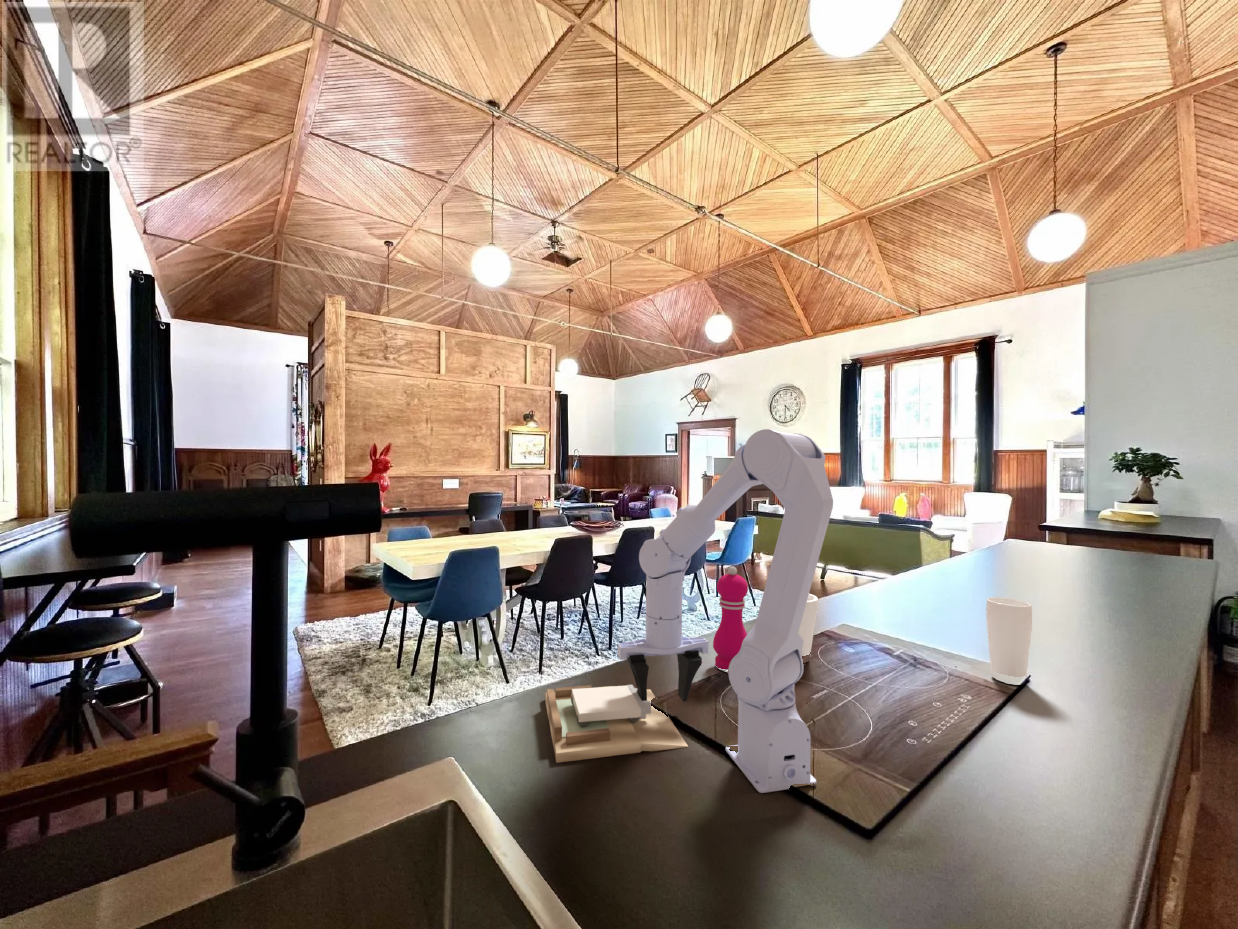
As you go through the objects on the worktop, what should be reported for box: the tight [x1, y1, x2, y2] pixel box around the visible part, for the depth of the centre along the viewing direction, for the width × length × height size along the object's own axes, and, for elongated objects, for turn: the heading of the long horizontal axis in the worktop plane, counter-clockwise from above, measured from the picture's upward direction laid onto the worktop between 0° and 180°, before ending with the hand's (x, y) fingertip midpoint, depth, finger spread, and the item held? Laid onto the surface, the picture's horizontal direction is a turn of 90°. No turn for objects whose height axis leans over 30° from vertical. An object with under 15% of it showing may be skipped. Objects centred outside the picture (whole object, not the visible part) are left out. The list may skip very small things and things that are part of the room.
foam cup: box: [798, 593, 819, 656], centre depth 101 cm, size 10×9×13 cm
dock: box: [544, 684, 689, 764], centre depth 75 cm, size 18×18×4 cm
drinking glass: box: [985, 596, 1033, 677], centre depth 92 cm, size 7×7×15 cm
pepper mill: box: [712, 566, 749, 669], centre depth 96 cm, size 7×7×20 cm
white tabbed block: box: [571, 684, 651, 727], centre depth 75 cm, size 8×11×2 cm
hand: (662, 700), depth 77 cm, fingers open, 6 cm apart
